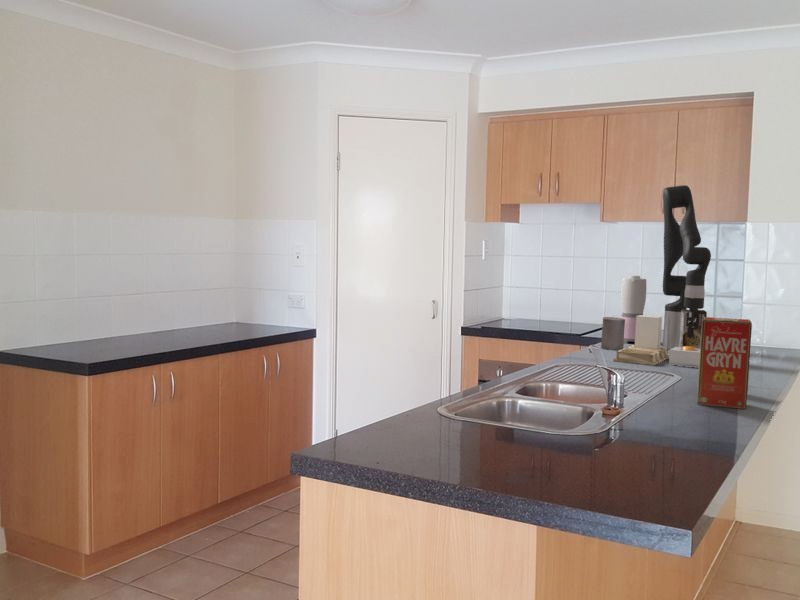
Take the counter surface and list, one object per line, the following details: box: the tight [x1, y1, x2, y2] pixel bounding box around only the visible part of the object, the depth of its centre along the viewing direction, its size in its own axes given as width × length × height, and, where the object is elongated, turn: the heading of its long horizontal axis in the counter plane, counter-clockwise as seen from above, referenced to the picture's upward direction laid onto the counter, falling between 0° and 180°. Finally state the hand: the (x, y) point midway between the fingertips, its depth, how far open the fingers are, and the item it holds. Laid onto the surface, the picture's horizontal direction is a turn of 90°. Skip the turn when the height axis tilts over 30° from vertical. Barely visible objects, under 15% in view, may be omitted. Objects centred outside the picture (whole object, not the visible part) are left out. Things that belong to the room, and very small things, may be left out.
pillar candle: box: [600, 316, 625, 351], centre depth 335 cm, size 10×10×15 cm
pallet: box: [613, 344, 669, 366], centre depth 306 cm, size 27×16×4 cm, turn 149°
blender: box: [620, 274, 647, 344], centre depth 361 cm, size 16×12×32 cm
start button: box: [682, 346, 696, 351], centre depth 294 cm, size 5×5×5 cm
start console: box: [668, 347, 700, 369], centre depth 294 cm, size 12×12×6 cm
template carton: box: [634, 314, 663, 350], centre depth 311 cm, size 6×9×16 cm, turn 59°
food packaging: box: [696, 316, 753, 410], centre depth 219 cm, size 13×9×25 cm
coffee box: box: [679, 309, 708, 349], centre depth 307 cm, size 9×6×16 cm
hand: (692, 336), depth 307 cm, fingers closed on coffee box, 8 cm apart
